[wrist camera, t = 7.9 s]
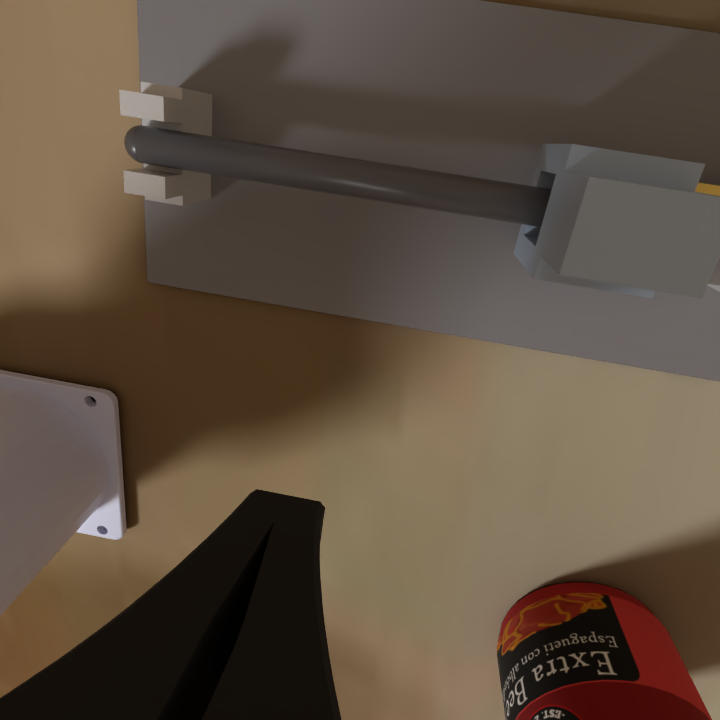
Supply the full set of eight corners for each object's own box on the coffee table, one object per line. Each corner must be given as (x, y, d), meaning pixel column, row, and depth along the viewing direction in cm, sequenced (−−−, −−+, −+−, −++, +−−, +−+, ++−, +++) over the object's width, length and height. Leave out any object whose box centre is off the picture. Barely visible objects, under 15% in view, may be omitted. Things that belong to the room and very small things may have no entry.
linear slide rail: (151, 280, 19) (82, 314, 15) (140, -44, 15) (43, -108, 11) (715, 377, 18) (793, 441, 14) (870, 56, 14) (1038, 23, 10)
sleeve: (513, 253, 16) (551, 301, 11) (542, 143, 14) (599, 144, 10) (610, 269, 16) (690, 324, 11) (648, 159, 14) (758, 167, 10)
